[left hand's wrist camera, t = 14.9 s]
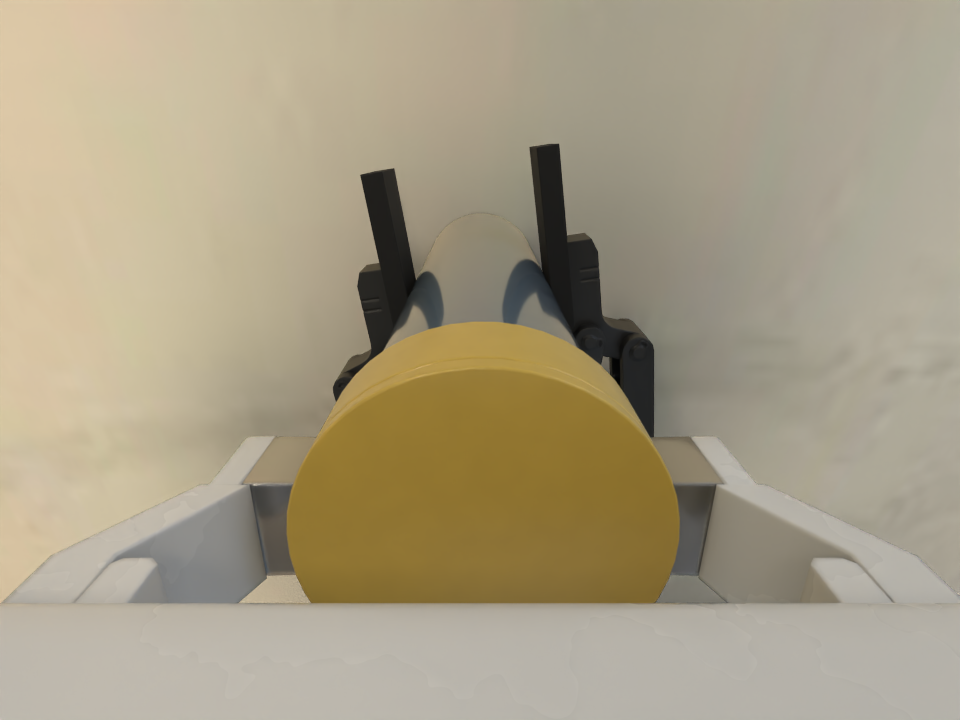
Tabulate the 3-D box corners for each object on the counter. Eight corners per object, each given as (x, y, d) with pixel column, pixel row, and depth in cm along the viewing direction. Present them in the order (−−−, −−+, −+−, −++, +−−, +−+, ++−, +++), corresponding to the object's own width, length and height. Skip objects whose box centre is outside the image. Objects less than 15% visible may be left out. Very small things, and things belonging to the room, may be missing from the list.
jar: (419, 224, 26) (278, 404, 8) (524, 203, 26) (628, 343, 8) (441, 323, 28) (370, 654, 10) (540, 305, 28) (655, 614, 10)
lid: (326, 584, 11) (294, 675, 9) (317, 306, 9) (273, 349, 7) (612, 602, 11) (639, 695, 9) (673, 334, 9) (725, 384, 7)
